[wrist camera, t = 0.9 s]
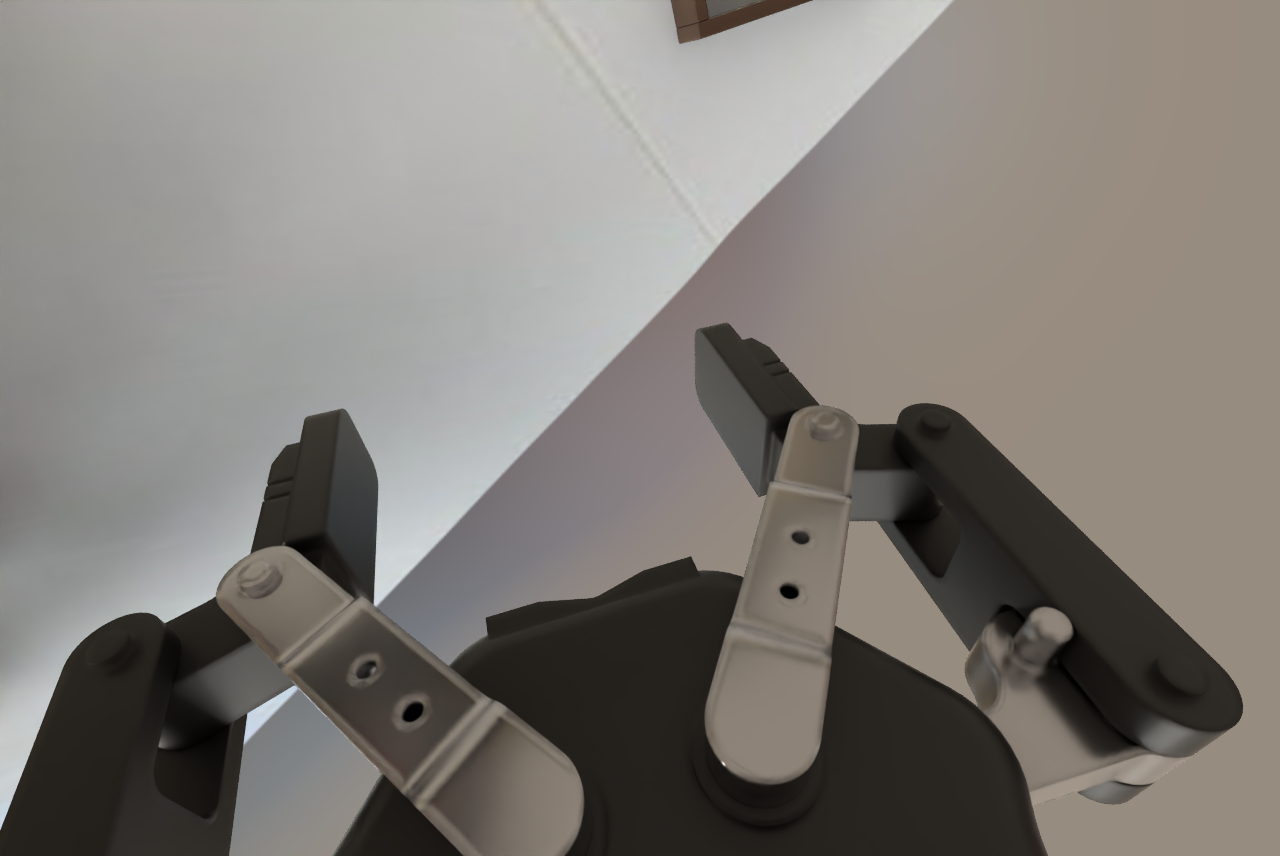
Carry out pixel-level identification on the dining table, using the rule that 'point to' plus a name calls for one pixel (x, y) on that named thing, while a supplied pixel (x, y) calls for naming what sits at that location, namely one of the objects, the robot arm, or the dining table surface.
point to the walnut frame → (720, 16)
